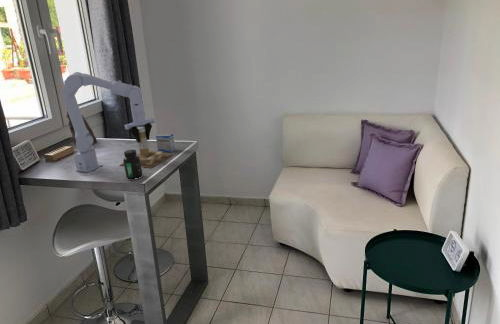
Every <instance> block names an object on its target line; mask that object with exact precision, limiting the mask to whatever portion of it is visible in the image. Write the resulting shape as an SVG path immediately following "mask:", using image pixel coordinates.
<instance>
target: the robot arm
mask: <svg viewBox="0 0 500 324" xmlns="http://www.w3.org/2000/svg"><path fill="white" fill-rule="evenodd" d="M90 85H91V86H95V87H99V88H100V87H101V88H103V89H107V90H110V92H111V93H112V94H114V95H118V96H122V97H124V98H128V99H129V103H130V104H129V105H130V110H131V116H132V122H130V123H126V124H124V129H125V130H129V131H130V132H131V133H132V135H133V137H134V138H135V141H136V143H138V142H140V139H139V129H137V127H145V130H146V137H147V141H149V140H150V136H151V135H150V134H151V131H152V127H153V124H155V123H156V120H155V118H154V117H153V118H146V113H145V107H144V106H145V105H144V102H143V97H142V94H143V92H142V89H141V88H140V87H139V86H137V85H132V84H130V83H129V84H127V83H124V82H122V80H119V79H118V80H114V81H112V82H111V81H109V80H106V79H103V78H100V77H97V76H94V75H92V74H89V73H82V72H79V71H78V72H77V71H76V72H72V74H70V75H68V76H67V77H66V78H65V80H64V82H63V87H62V91H61V97H62V99H63V103H64V105H65V107H66V108H65V109H66V110H67V111H68V114H69V117H70V119H71V122H72V125H73V128H74V131H75V139H76V146H75V149H77V153H76V154H75V155H74V158H73V159H74V163H75V167H76V169H75V171H76V172H84V173H90V172H92V171H93V170H96V169H98V168H100V167H102V166H103V163H99V162H98V158H97V154H96V153H97V152H96V149H95V146H94V145H93V144H94V143H93V142H94V139H93V137H92V136H91V135H90V134H89V131H88V130H87V129H86V126H85V124H84V121H83V118H82V115H83V114H82V112H81V109H80V107H79V103H78V101H77V98H76V94H77V93H78V91H79V89H81V88H82V87H87V86H90ZM67 111H66V112H67ZM81 114H82V115H81Z"/></svg>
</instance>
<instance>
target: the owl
mask: <svg viewBox="0 0 500 324" xmlns="http://www.w3.org/2000/svg"><path fill="white" fill-rule="evenodd" d="M81 115H82V118H83V121H84V124H85V126H86V129H87V130H88V131H89V134H90V135H91V136H92V137H93V139H94V142H93V144H95V143H98V141H97V137H96V135H95V133H94V132H93V130H92V128H91V126H90V124H89V123H88V121H87V120H86V118H85V117H84V115H83V114H82V113H81ZM66 117H67V118H68V126H69V131H70V133H71V137H72V141H73V144H74V147H76V139H75V131H74V128H73V125H72V122H71V119H70V117H69V114H68V111H66Z"/></svg>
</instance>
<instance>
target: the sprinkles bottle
mask: <svg viewBox="0 0 500 324" xmlns="http://www.w3.org/2000/svg"><path fill="white" fill-rule="evenodd" d="M136 128H137V129H139V139H140V142H137V144H138V149H139V154H140V155H141V156H145V155H148V154H149V151H150V149H149V142H148V140H147V137H146V130H145V127H143V126H138V127H136Z"/></svg>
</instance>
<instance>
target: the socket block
mask: <svg viewBox="0 0 500 324" xmlns="http://www.w3.org/2000/svg"><path fill="white" fill-rule="evenodd" d="M136 156H138V157H139V158H140V163H141V167H144V168H143V169H153V168H155V167H156V166H158V165H159V164H161V163H163V162H164V161H165V160H167V159H169V158H170V157H173V154H172V153H171V154H170V153H169V154H166V153H164V152H163V151H158V150H149V154H148V155H145V156H141V155H140V153H139V154H137V155H136ZM119 167H124V162H122V163H121V164H119Z"/></svg>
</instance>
